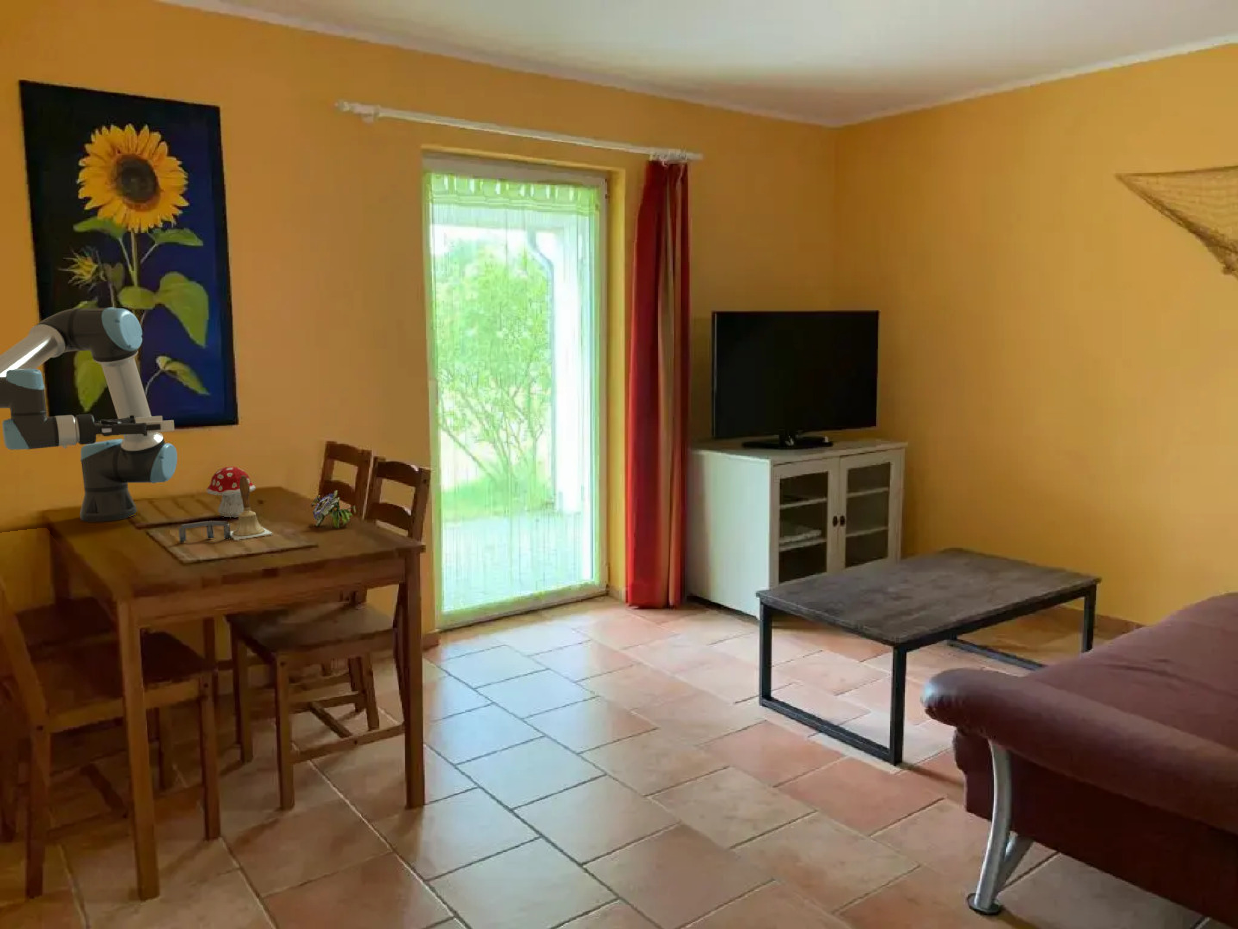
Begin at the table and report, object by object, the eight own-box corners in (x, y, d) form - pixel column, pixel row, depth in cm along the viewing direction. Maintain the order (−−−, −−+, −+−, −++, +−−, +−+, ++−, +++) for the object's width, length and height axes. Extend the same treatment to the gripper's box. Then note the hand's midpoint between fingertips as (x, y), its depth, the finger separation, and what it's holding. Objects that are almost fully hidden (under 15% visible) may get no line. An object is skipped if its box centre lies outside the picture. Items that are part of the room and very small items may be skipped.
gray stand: (179, 542, 257) (177, 524, 256) (226, 535, 264) (225, 518, 263) (183, 546, 253) (182, 528, 252) (231, 539, 260) (230, 521, 259)
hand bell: (254, 536, 260) (249, 478, 257) (226, 535, 261) (221, 477, 259) (270, 529, 268) (266, 473, 265) (243, 528, 269) (239, 472, 267)
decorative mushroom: (197, 519, 285) (193, 469, 283) (230, 510, 298) (226, 462, 296) (236, 522, 281) (232, 471, 279) (267, 512, 294) (264, 464, 292)
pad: (225, 534, 266) (224, 532, 265) (262, 528, 271) (261, 526, 271) (235, 540, 258) (234, 538, 257) (272, 535, 263) (272, 533, 263)
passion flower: (320, 544, 275) (303, 508, 278) (355, 532, 281) (338, 497, 284) (327, 529, 266) (309, 492, 269) (363, 516, 272) (345, 480, 275)
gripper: (70, 439, 251) (159, 432, 263) (85, 450, 231) (180, 442, 243) (67, 411, 249) (156, 405, 262) (82, 419, 230) (177, 412, 242)
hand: (168, 423), depth 252 cm, fingers open, 13 cm apart
